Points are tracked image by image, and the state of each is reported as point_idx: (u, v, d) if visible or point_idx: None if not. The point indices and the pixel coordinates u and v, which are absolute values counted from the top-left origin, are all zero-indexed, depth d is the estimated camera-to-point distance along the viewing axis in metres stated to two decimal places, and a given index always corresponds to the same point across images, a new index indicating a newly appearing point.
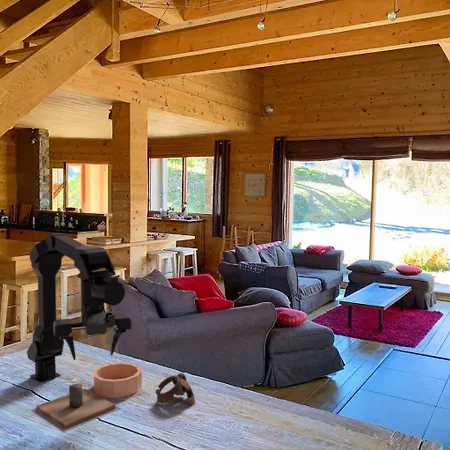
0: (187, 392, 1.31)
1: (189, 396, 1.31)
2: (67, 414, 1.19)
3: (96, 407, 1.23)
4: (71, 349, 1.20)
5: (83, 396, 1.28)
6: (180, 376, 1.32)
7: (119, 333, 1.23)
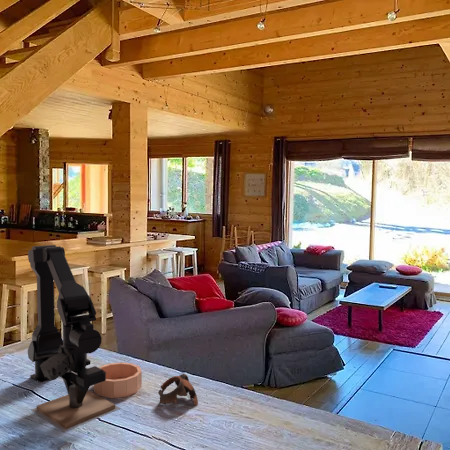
0: (190, 393, 1.31)
1: (192, 397, 1.31)
2: (67, 414, 1.19)
3: (96, 407, 1.23)
4: (66, 387, 1.24)
5: None
6: (182, 377, 1.31)
7: None
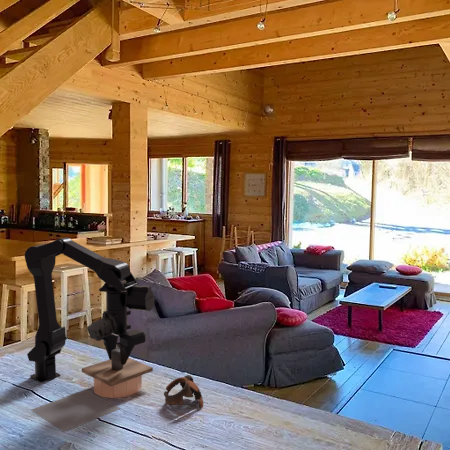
0: (195, 394, 1.30)
1: (197, 398, 1.30)
2: (111, 375, 1.31)
3: (136, 369, 1.35)
4: (106, 348, 1.37)
5: None
6: (187, 378, 1.31)
7: (119, 346, 1.31)
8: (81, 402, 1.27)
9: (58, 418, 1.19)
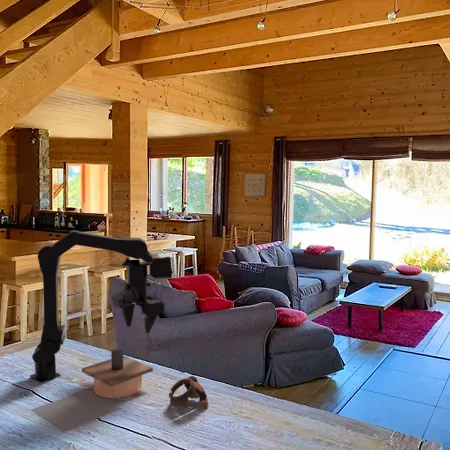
0: (199, 395, 1.30)
1: (201, 399, 1.29)
2: (111, 375, 1.31)
3: (136, 369, 1.35)
4: (124, 317, 1.51)
5: (122, 361, 1.41)
6: (192, 379, 1.30)
7: (144, 315, 1.42)
8: (81, 402, 1.27)
9: (58, 418, 1.19)
